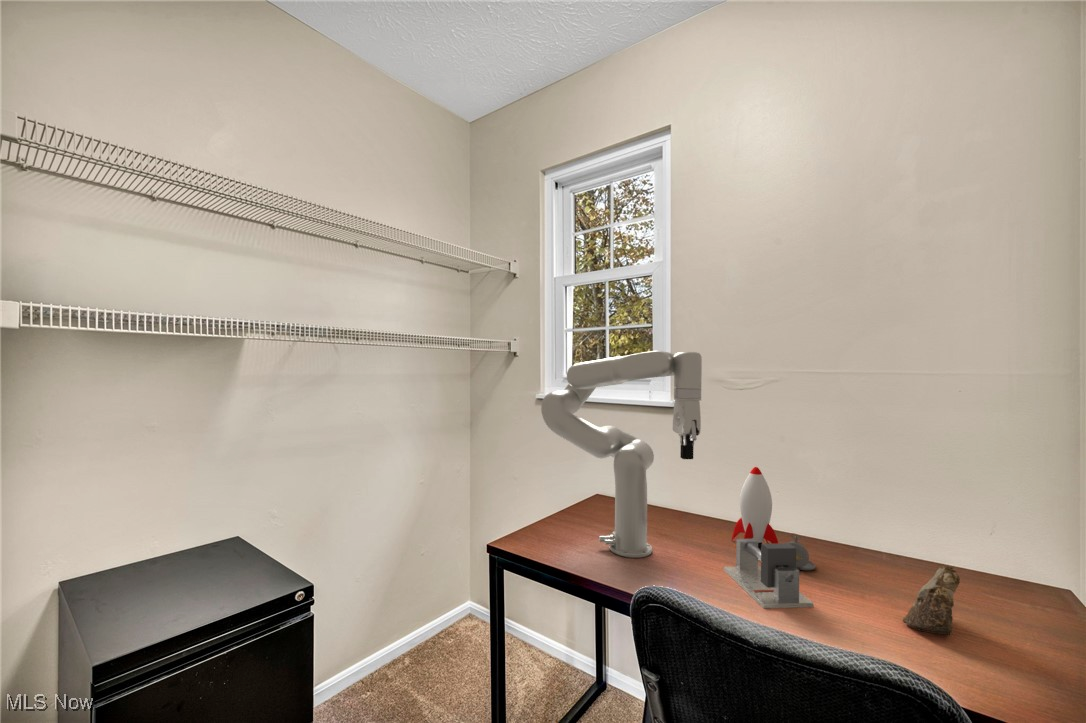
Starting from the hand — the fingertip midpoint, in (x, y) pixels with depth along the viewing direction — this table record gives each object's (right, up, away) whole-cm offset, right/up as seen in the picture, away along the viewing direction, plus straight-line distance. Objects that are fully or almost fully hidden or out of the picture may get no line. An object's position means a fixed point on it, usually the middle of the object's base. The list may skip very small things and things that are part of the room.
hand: (686, 458), depth 134 cm
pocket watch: (+30, -30, -4) cm, 42 cm away
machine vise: (+15, -29, -16) cm, 36 cm away
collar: (+15, -26, -22) cm, 37 cm away
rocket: (+24, -30, +9) cm, 39 cm away
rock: (+42, -30, -33) cm, 61 cm away
